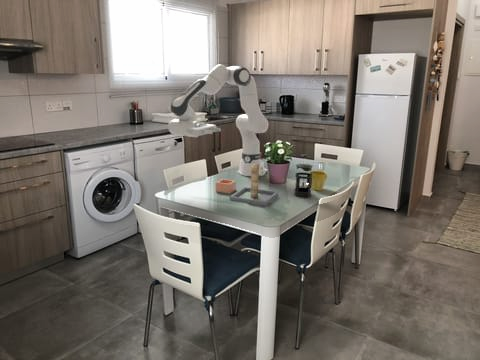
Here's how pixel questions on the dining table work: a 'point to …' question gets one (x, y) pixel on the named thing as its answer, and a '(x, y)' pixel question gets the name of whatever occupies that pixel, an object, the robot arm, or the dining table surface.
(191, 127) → the robot arm
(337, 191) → the dining table surface
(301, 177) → the french press
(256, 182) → the wooden block tower
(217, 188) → the salmon square socket block
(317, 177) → the yellow cup
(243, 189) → the charcoal tray
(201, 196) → the dining table surface
